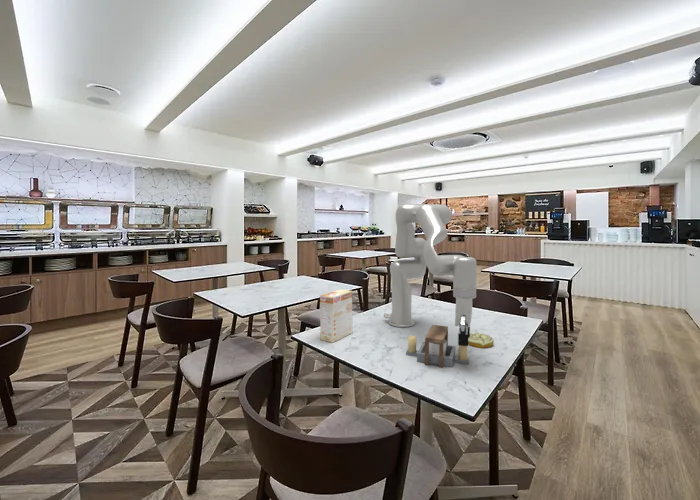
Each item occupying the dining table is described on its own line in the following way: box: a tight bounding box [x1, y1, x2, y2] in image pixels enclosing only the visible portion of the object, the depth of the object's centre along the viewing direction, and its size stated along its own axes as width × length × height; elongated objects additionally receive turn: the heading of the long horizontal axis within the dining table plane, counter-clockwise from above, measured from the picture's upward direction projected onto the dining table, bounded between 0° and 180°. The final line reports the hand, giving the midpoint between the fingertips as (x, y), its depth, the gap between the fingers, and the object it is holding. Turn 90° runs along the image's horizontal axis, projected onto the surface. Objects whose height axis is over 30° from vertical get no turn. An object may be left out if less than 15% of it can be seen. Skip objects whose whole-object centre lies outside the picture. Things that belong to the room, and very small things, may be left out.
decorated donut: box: [468, 332, 495, 349], centre depth 132 cm, size 10×11×4 cm
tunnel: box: [424, 324, 449, 368], centre depth 118 cm, size 6×15×10 cm, turn 157°
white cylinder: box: [429, 339, 447, 356], centre depth 118 cm, size 7×7×7 cm
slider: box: [405, 335, 470, 368], centre depth 118 cm, size 22×12×6 cm, turn 67°
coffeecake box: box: [319, 288, 354, 343], centre depth 142 cm, size 15×7×20 cm, turn 145°
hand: (464, 340), depth 114 cm, fingers open, 9 cm apart
